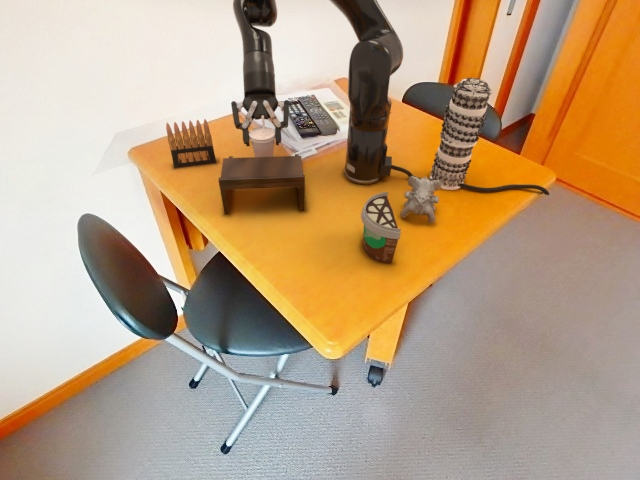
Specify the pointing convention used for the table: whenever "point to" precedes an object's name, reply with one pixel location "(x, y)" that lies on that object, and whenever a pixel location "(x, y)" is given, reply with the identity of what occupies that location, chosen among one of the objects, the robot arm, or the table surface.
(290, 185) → the stand
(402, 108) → the table surface
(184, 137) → the ammunition clip
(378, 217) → the food container
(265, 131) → the smoothie
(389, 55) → the robot arm
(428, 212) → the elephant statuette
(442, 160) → the white patterned cylinder
